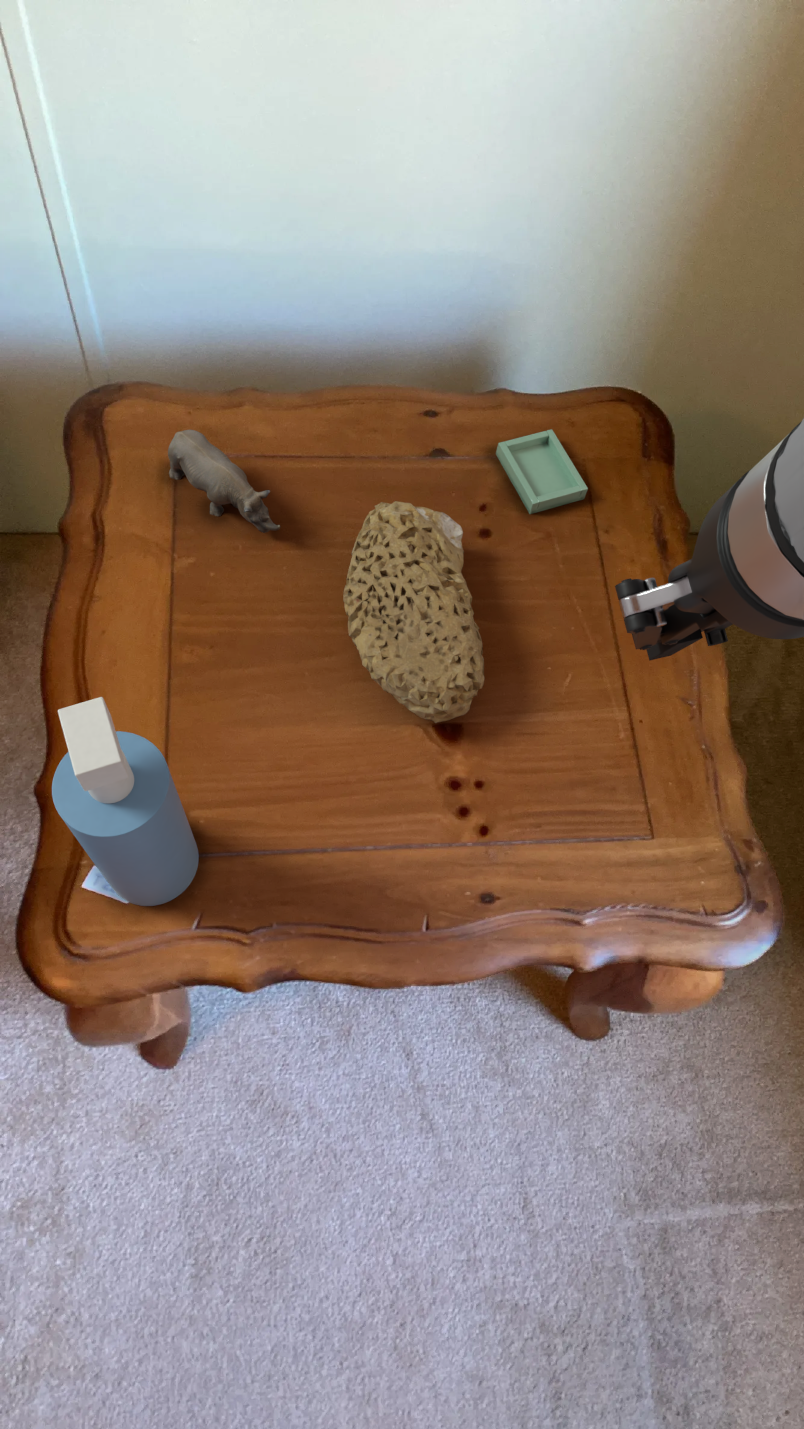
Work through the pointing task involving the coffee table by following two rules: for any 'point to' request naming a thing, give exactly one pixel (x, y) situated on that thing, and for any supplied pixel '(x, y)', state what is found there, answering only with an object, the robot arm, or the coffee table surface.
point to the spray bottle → (123, 807)
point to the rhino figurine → (217, 478)
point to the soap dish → (541, 471)
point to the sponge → (414, 610)
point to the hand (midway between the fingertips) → (655, 638)
